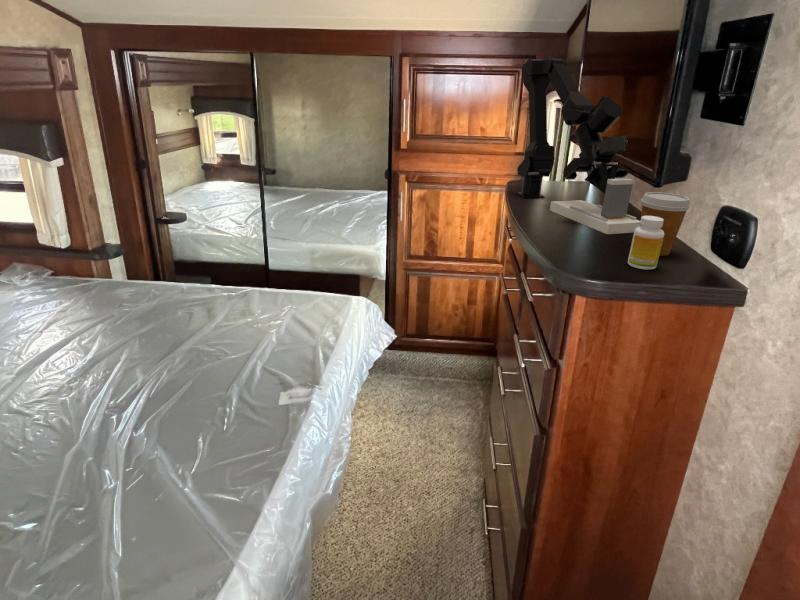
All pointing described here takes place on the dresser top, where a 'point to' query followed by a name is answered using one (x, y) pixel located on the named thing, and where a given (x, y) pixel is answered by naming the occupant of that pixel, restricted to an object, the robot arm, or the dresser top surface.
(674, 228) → the disposable coffee cup
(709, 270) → the dresser top surface
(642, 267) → the supplement bottle
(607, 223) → the white slider track base
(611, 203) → the fader tab
